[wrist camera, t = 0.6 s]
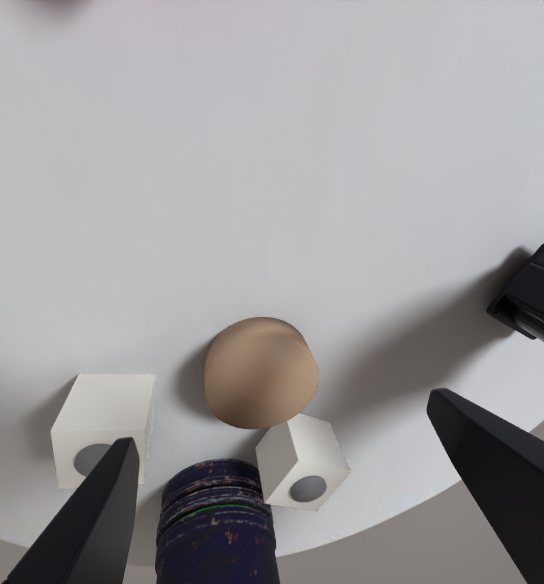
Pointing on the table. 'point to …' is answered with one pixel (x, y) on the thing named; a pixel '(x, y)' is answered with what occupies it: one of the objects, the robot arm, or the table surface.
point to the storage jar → (216, 527)
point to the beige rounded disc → (259, 373)
